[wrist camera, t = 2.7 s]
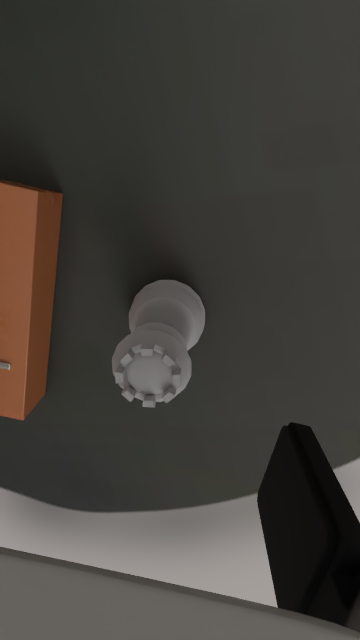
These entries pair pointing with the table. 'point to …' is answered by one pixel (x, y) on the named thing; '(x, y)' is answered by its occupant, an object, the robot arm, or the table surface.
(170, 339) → the rook chess piece
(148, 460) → the table surface
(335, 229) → the table surface
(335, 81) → the table surface
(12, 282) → the knob base block
